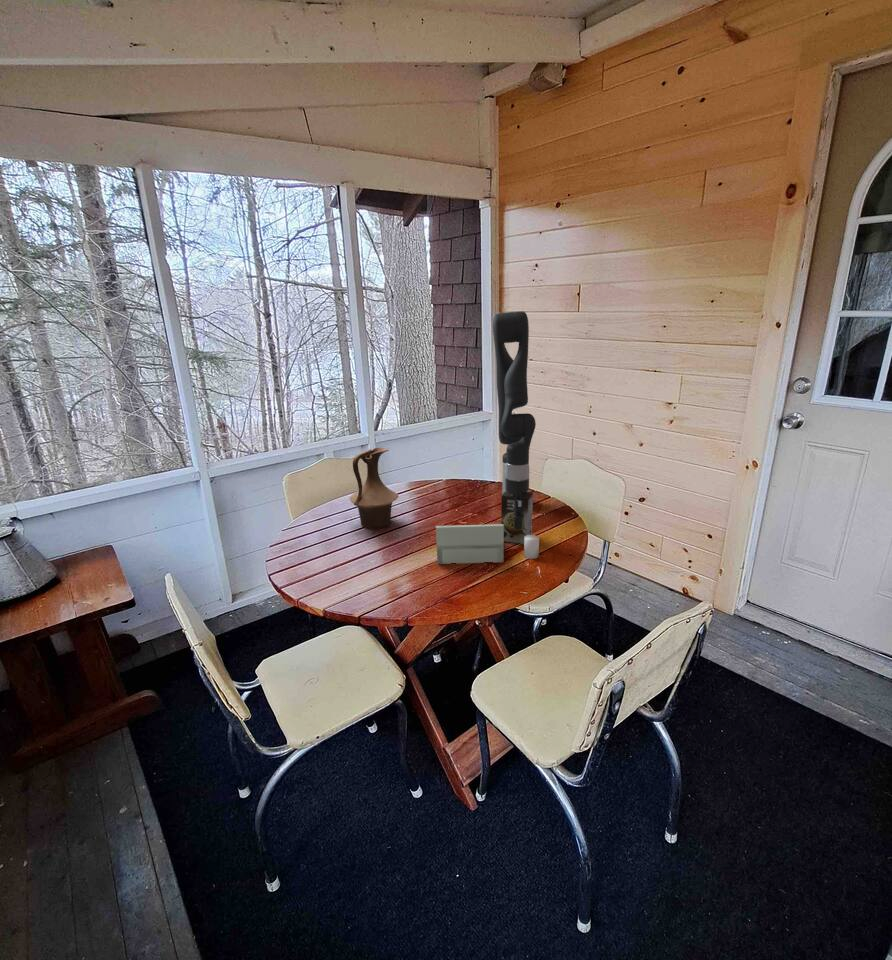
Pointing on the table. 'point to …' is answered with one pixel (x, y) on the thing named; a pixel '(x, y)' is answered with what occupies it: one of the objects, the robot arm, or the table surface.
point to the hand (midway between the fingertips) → (516, 523)
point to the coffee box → (509, 519)
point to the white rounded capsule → (531, 546)
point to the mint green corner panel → (470, 543)
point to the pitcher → (372, 492)
